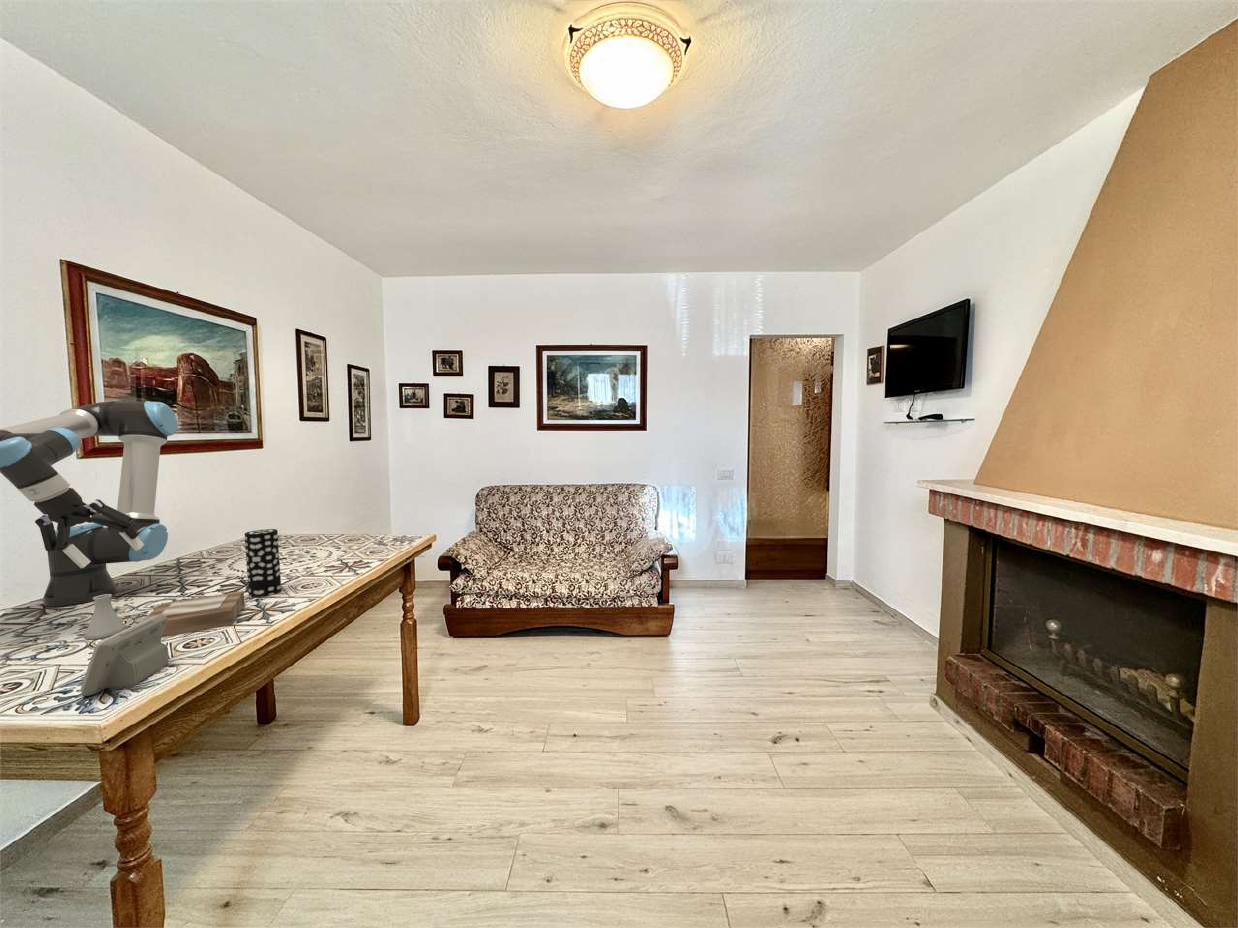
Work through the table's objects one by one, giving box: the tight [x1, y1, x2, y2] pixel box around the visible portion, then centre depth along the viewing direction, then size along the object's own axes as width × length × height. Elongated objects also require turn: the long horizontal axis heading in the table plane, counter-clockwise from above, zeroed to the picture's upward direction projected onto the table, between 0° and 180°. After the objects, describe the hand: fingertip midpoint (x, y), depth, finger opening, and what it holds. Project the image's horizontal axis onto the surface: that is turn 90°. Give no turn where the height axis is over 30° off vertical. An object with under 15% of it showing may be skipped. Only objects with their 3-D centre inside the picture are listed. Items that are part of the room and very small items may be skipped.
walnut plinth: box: [140, 590, 245, 638], centre depth 126 cm, size 18×18×4 cm
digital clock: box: [80, 614, 169, 697], centre depth 96 cm, size 16×9×11 cm, turn 179°
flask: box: [83, 594, 127, 640], centre depth 118 cm, size 7×7×10 cm
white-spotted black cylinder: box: [244, 528, 282, 598], centre depth 147 cm, size 8×8×20 cm
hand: (113, 556), depth 129 cm, fingers open, 13 cm apart
